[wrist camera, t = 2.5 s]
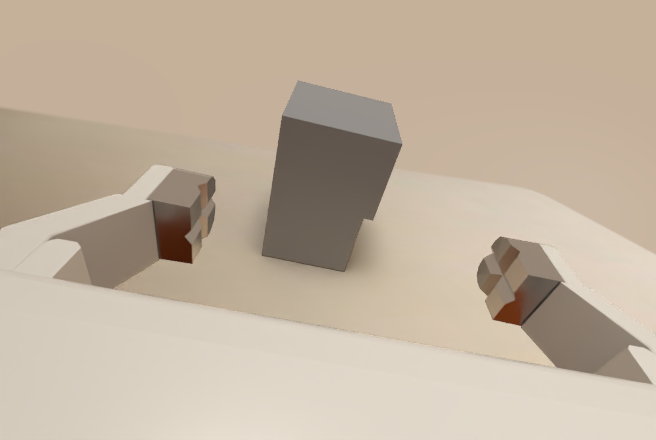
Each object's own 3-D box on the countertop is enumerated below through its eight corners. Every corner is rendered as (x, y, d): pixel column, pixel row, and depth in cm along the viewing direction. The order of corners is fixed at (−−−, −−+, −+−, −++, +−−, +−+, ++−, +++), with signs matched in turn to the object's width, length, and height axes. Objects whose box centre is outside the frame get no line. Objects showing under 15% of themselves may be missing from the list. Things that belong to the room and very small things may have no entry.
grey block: (261, 254, 23) (282, 115, 17) (278, 202, 28) (298, 80, 23) (352, 273, 24) (402, 144, 18) (352, 218, 29) (391, 103, 23)
